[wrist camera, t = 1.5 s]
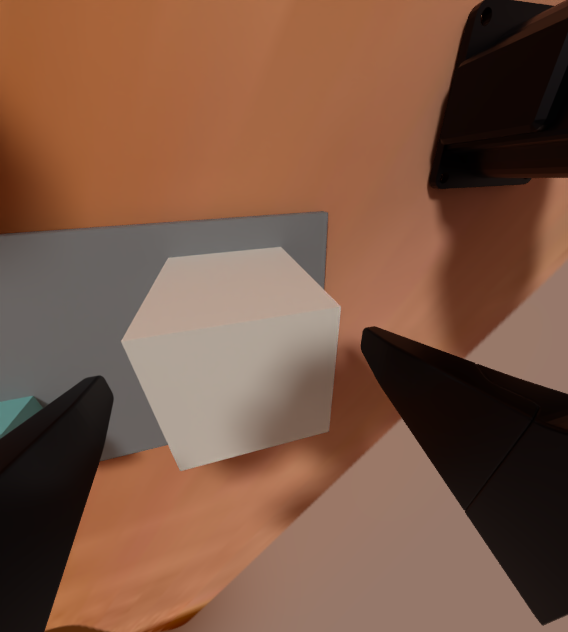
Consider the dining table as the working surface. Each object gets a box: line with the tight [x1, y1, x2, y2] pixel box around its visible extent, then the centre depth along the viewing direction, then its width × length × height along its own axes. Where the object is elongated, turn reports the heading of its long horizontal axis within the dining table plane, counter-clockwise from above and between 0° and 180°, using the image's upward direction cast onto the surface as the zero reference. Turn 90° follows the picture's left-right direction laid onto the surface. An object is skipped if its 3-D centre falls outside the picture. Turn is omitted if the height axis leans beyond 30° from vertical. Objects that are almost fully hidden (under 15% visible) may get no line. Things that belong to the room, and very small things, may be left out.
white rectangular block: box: [121, 247, 341, 471], centre depth 10 cm, size 5×5×7 cm
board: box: [0, 211, 328, 461], centre depth 13 cm, size 22×14×1 cm, turn 92°
